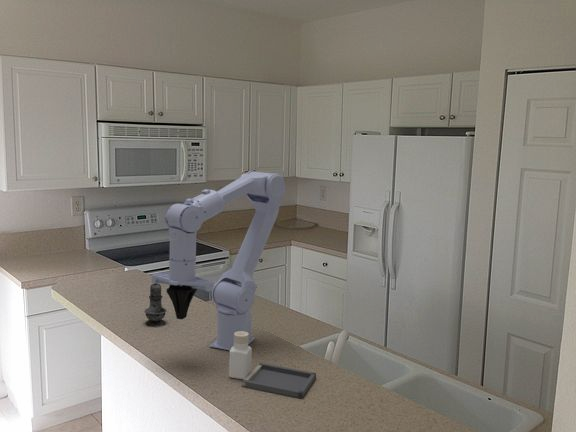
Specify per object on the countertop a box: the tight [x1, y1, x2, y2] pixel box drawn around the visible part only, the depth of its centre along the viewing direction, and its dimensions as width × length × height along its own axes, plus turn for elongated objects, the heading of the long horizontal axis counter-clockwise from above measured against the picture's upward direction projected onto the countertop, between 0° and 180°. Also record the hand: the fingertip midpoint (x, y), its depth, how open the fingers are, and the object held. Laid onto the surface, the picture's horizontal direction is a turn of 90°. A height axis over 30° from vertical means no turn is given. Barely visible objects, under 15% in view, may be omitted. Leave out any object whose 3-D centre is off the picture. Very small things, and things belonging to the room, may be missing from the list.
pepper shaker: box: [228, 331, 253, 380], centre depth 115 cm, size 4×4×10 cm
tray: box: [241, 362, 317, 400], centre depth 113 cm, size 10×13×1 cm
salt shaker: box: [143, 283, 168, 328], centre depth 144 cm, size 6×6×12 cm
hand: (181, 317), depth 119 cm, fingers closed
